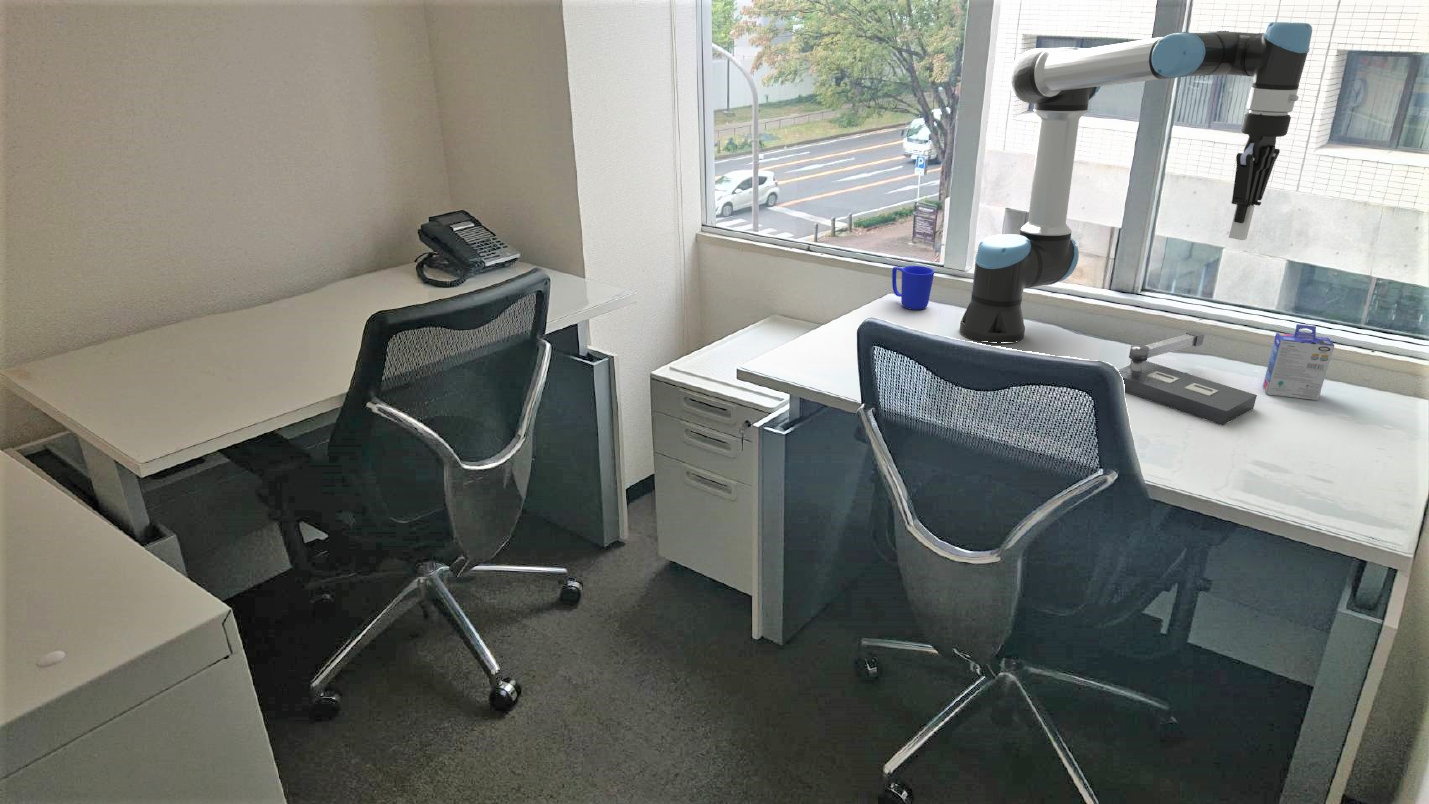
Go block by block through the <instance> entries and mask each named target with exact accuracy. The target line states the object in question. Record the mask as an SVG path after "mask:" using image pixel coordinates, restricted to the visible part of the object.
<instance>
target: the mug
mask: <svg viewBox="0 0 1429 804" xmlns="http://www.w3.org/2000/svg"><path fill="white" fill-rule="evenodd" d="M897 271H900V272H901V293H900V292H899V291H898V286H897ZM891 272H892V274H891V281H892V282H891V283H892V284H891V285H892V292H893V293H894V295H895V296H896V297H900V301H901V304H902V306H903V307H904V308H906V309H908V310H915V311H917V310H924V309H927V307H928V305H929V301H930V296H931V291H932V287H933V286H932V285H933V281H934V275H935V270H934V269H933V268H930V267H928V266H923V265H922V266H921V265H909V266H904V267H901V266H894V267H892V271H891Z"/></svg>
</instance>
